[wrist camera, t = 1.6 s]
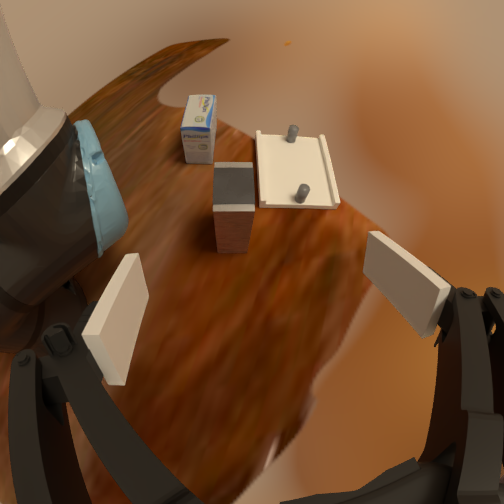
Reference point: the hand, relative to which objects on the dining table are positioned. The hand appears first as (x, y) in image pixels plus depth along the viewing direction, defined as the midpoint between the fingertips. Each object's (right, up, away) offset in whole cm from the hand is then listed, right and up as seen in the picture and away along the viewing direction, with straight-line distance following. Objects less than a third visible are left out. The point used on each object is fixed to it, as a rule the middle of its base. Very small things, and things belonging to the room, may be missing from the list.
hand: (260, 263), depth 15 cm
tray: (+6, +14, +28) cm, 32 cm away
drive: (-3, +3, +24) cm, 24 cm away
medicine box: (-9, +18, +29) cm, 35 cm away
